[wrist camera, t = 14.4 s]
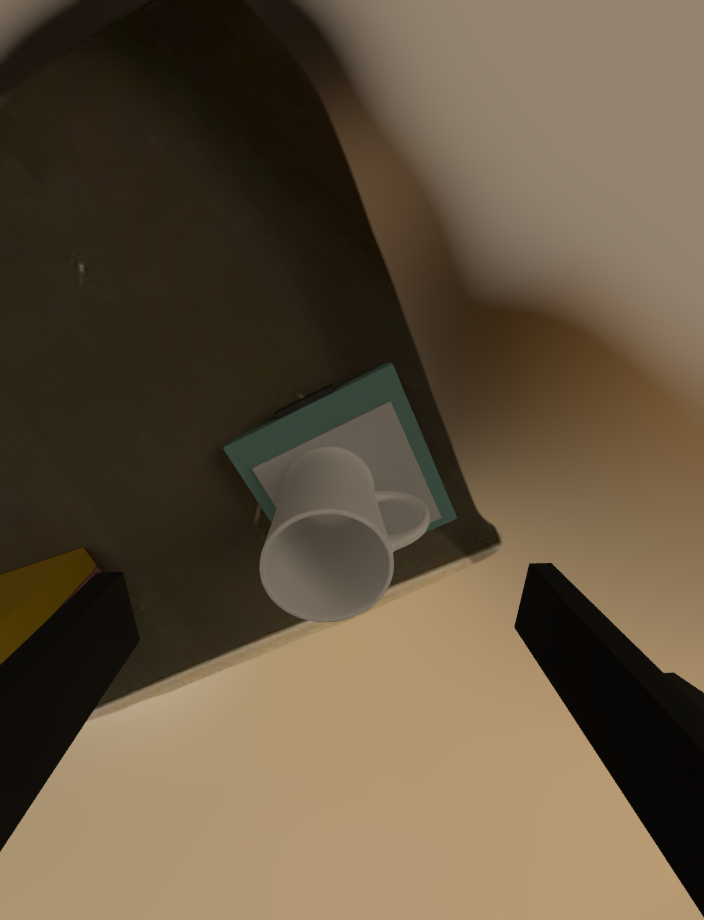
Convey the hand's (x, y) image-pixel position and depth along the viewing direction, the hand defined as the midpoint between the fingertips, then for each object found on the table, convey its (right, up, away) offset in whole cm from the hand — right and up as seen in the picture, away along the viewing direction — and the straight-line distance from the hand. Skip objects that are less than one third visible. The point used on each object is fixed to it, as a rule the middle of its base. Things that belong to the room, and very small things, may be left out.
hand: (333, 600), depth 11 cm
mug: (0, +2, +20) cm, 20 cm away
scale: (0, +3, +23) cm, 23 cm away
